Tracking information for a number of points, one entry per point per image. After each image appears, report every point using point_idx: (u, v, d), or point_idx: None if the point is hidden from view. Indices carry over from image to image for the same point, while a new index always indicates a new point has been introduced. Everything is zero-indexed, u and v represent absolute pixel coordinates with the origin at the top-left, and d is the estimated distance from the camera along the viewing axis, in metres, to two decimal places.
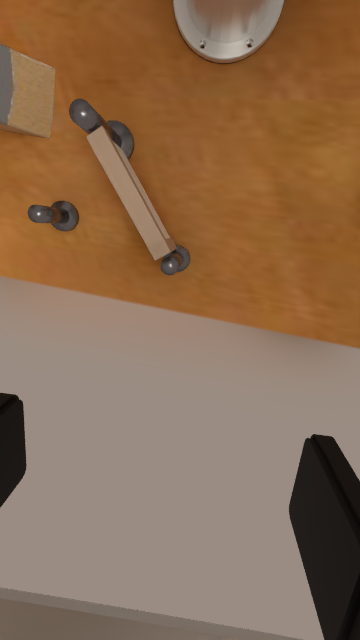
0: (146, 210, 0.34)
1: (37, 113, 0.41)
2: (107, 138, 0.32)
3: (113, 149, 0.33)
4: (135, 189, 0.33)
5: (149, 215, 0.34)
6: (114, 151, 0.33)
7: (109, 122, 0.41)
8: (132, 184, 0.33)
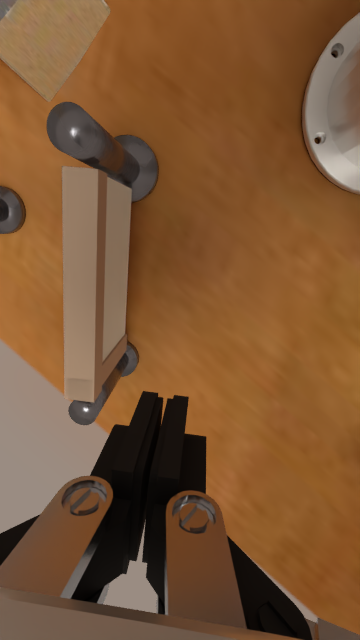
0: (92, 330, 0.20)
1: (46, 56, 0.24)
2: (95, 193, 0.17)
3: (95, 216, 0.18)
4: (94, 292, 0.19)
5: (93, 339, 0.20)
6: (95, 219, 0.18)
7: (137, 139, 0.25)
8: (94, 283, 0.19)
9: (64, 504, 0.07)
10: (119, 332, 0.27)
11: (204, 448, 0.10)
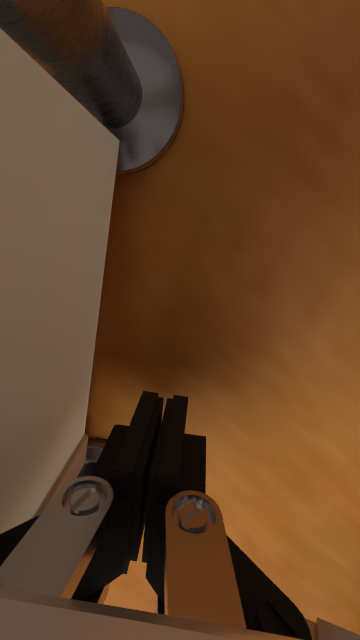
0: None
1: None
2: None
3: None
4: None
5: None
6: None
7: (136, 19, 0.11)
8: None
9: (65, 504, 0.07)
10: (67, 449, 0.13)
11: (204, 448, 0.10)
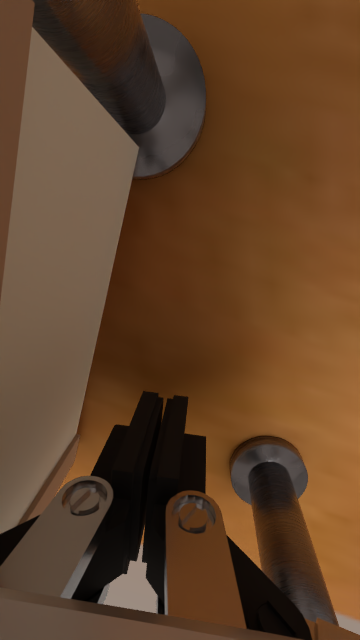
0: None
1: None
2: None
3: None
4: None
5: None
6: None
7: None
8: None
9: (64, 504, 0.07)
10: (59, 449, 0.13)
11: (204, 448, 0.10)
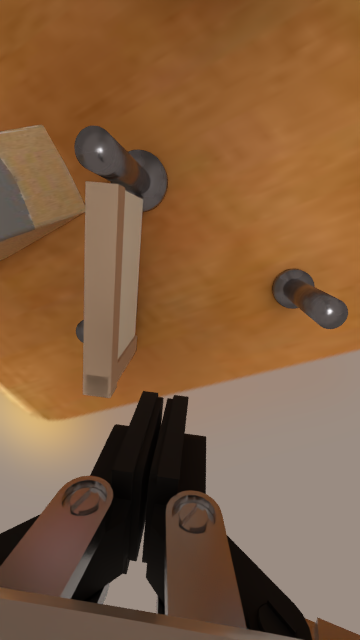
0: (110, 330, 0.21)
1: (57, 190, 0.28)
2: (115, 206, 0.19)
3: (114, 226, 0.19)
4: (112, 296, 0.21)
5: (110, 339, 0.21)
6: (114, 229, 0.20)
7: None
8: (112, 287, 0.20)
9: (64, 504, 0.07)
10: (130, 333, 0.29)
11: (204, 448, 0.10)
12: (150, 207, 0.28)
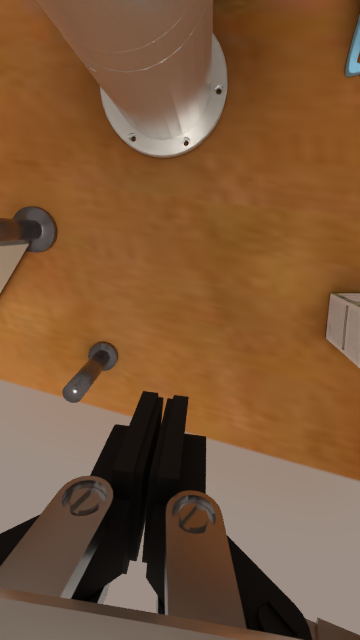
0: None
1: None
2: None
3: None
4: None
5: None
6: None
7: (28, 208, 0.36)
8: None
9: (64, 504, 0.07)
10: None
11: (204, 448, 0.10)
12: (33, 251, 0.37)
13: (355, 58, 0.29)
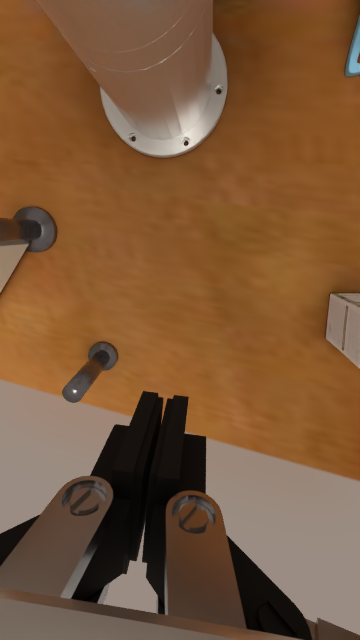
0: None
1: None
2: None
3: None
4: None
5: None
6: None
7: (28, 208, 0.36)
8: None
9: (64, 504, 0.07)
10: None
11: (204, 448, 0.10)
12: (32, 251, 0.37)
13: (355, 58, 0.29)
